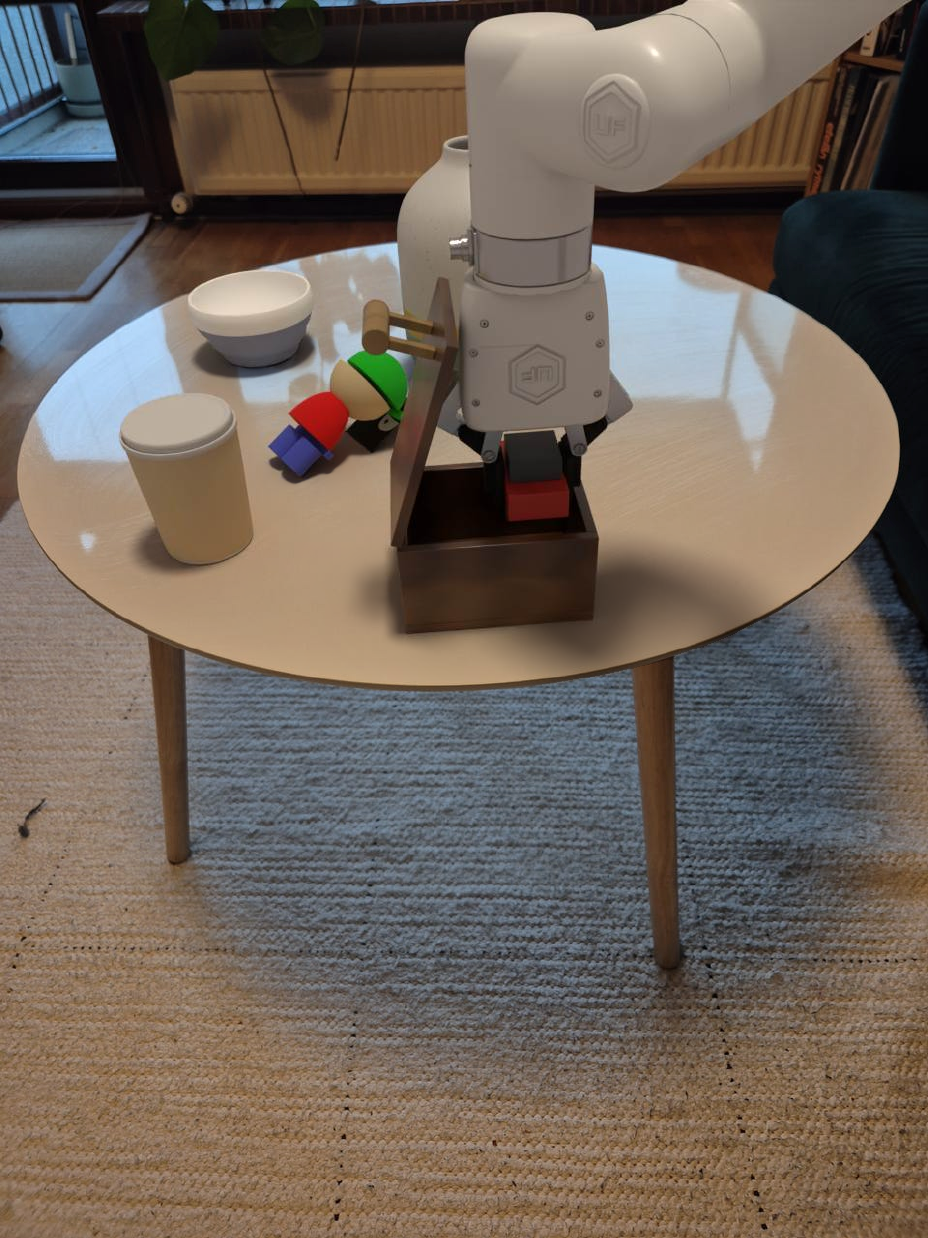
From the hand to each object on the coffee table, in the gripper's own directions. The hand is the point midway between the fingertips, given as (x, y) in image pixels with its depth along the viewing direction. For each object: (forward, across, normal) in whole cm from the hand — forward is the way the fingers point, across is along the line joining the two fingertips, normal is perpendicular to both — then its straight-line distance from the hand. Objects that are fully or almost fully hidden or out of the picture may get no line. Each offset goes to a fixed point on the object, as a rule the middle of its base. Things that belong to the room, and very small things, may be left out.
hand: (531, 494), depth 68 cm
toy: (+8, -16, +23) cm, 30 cm away
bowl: (+8, -27, +48) cm, 56 cm away
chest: (+8, -3, 0) cm, 9 cm away
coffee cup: (+8, -28, +9) cm, 30 cm away
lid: (-7, -8, 0) cm, 11 cm away
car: (0, 0, 0) cm, 0 cm away
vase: (+8, -1, +38) cm, 39 cm away
